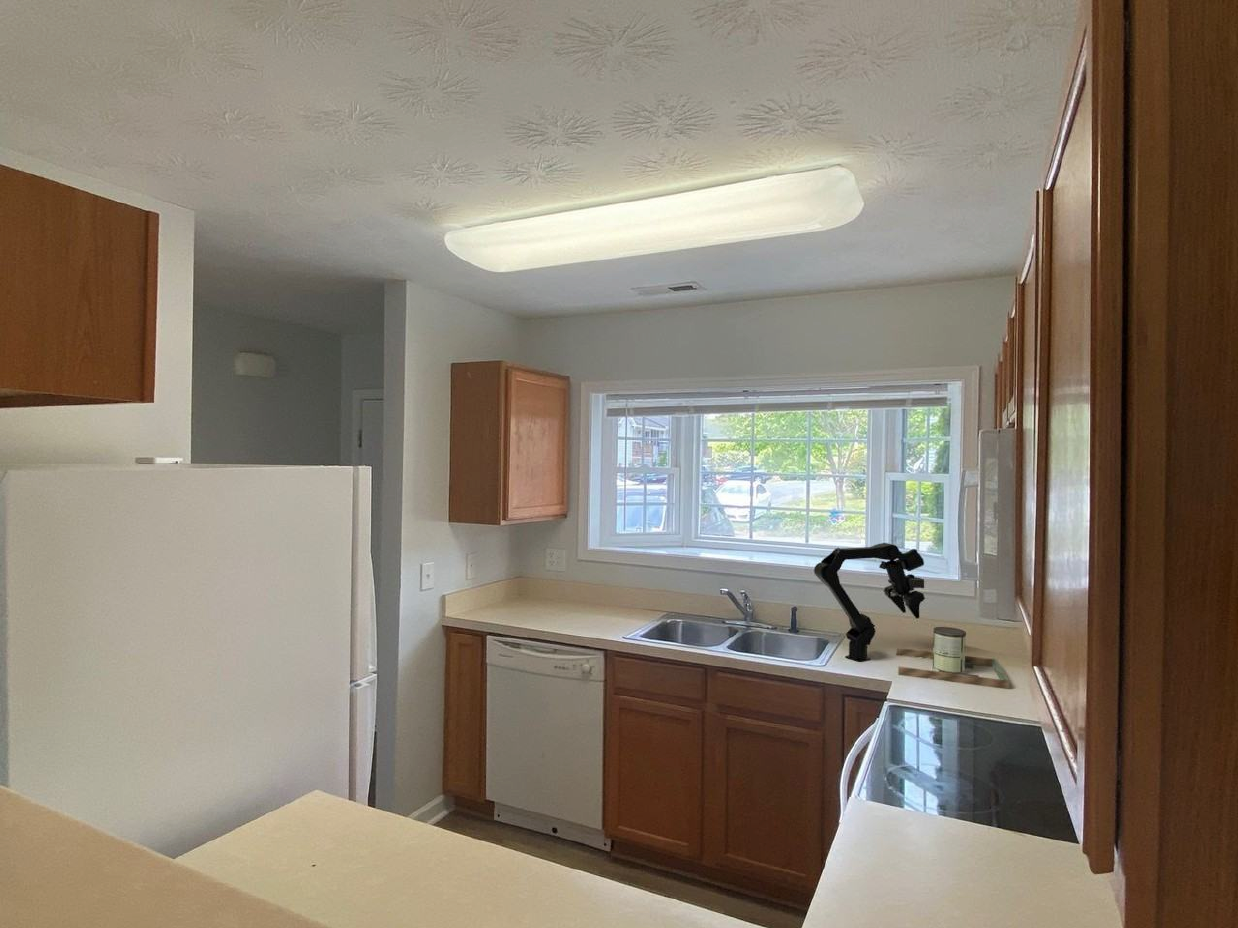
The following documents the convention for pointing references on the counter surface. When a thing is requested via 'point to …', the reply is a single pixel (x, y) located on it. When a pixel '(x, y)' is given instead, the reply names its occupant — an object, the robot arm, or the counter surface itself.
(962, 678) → the brown wooden frame
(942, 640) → the coffee can
